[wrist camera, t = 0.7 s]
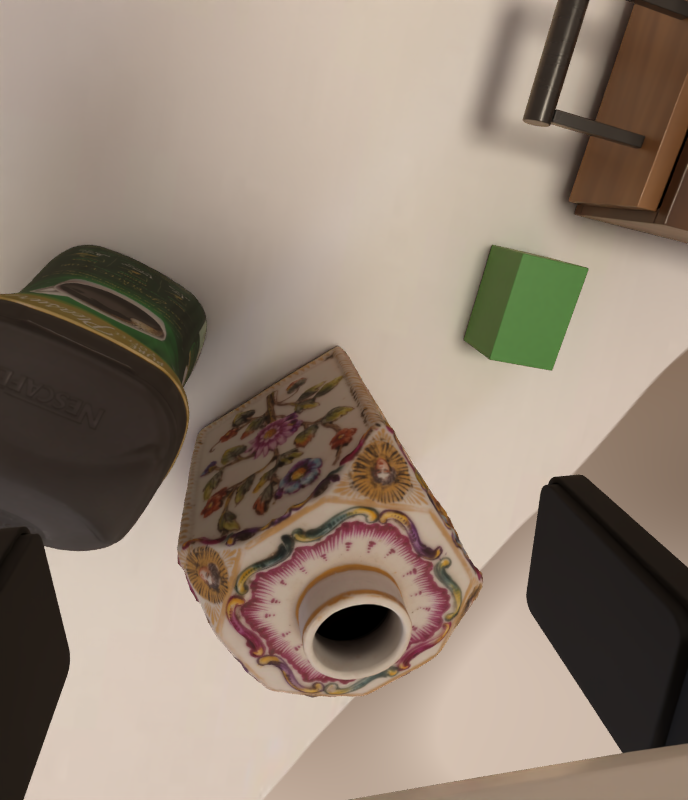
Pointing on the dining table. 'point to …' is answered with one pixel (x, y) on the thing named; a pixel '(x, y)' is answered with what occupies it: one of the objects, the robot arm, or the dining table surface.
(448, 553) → the decorative jar
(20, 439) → the coffee jar
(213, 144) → the dining table surface
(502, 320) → the green block
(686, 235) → the cabinet
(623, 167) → the drawer
